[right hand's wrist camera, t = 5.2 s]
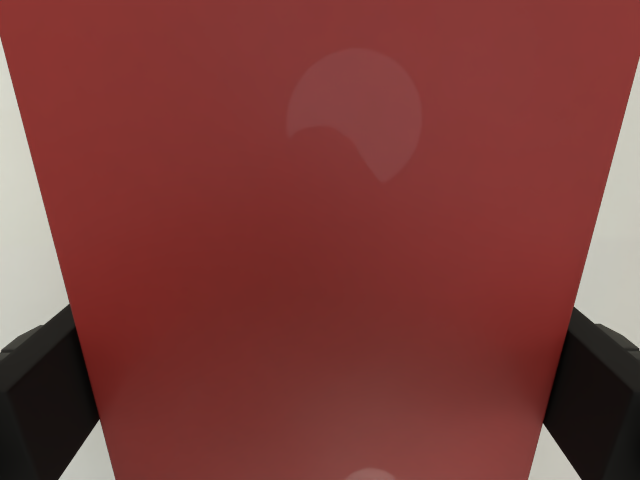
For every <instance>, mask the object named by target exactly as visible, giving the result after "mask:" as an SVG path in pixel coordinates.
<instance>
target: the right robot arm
mask: <svg viewBox="0 0 640 480" xmlns="http://www.w3.org/2000/svg"><path fill="white" fill-rule="evenodd" d="M99 419H100V418H99V414H98V410H97V406H96V403H95V399H94V395H93V391H92V387H91V383H90V380H89V376H88V372H87V368H86V364H85V360H84V356H83V353H82V349H81V345H80V341H79V337H78V333H77V330H76V326H75V322H74V318H73V314H72V310H71V306H70V304H69V305H68V306H66V307H65V308H64V309H63V310H62V311H60V312H59V313H58V314H57V315H56V316H54V317H53V318H52V319H51V320H50V321H48V322H47V323H46V324H45V325H40V326H38V327H36V328H34V329H32V330H30V331H28V332H26V333H24V334H22V335H20V336H18V337H17V338H16V339H14V340H13V341H12V342H11V343H9V344H8V345H7V346H6V347H4V348H3V349H2V350H1V353H0V480H58V479H59V478H60V476H61V475H62V473H63V472H64V471H65V469H66V468H67V466H68V465H69V463H70V462H71V460H72V459H73V457H74V456H75V454H76V453H77V451H78V450H79V449H80V447H81V446H82V444H83V443H84V441H85V440H86V438H87V437H88V435H89V434H90V432H91V431H92V429H93V428H94V427H95V425H96V424H97V422H98V421H99ZM543 424H544V425H545V427H546V428H547V430H548V431H549V432H550V434H551V435H552V437H553V438H554V440H555V441H556V443H557V444H558V446H559V447H560V449H561V450H562V452H563V453H564V454H565V456H566V457H567V459H568V460H569V462H570V463H571V465H572V466H573V468H574V469H575V471H576V472H577V474H578V475H579V476H580V478H581V479H582V480H640V351H639V348H638V347H637V346H635V345H634V344H633V343H632V342H630V341H629V340H628V339H626V338H625V337H624V336H623V335H621V334H619V333H617V332H615V331H613V330H611V329H609V328H607V327H605V326H603V325H601V324H594V323H593V322H592V321H590V320H589V319H588V318H587V317H586V316H584V315H583V314H582V313H581V312H580V311H578V310H577V309H576V308H575V307H573V311H572V314H571V318H570V322H569V326H568V330H567V333H566V337H565V341H564V345H563V348H562V352H561V356H560V360H559V364H558V367H557V371H556V375H555V379H554V383H553V386H552V390H551V394H550V398H549V401H548V405H547V409H546V413H545V417H544V420H543Z"/></svg>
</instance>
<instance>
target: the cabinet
mask: <svg viewBox="0 0 640 480" xmlns="http://www.w3.org/2000/svg"><path fill="white" fill-rule="evenodd" d="M0 37H1V41H2V45H3V49H4V53H5V57H6V60H7V64H8V68H9V72H10V76H11V80H12V83H13V87H14V91H15V95H16V99H17V103H18V107H19V110H20V114H21V118H22V122H23V126H24V130H25V133H26V137H27V141H28V145H29V149H30V153H31V157H32V160H33V164H34V168H35V172H36V176H37V180H38V183H39V187H40V191H41V195H42V199H43V203H44V207H45V210H46V214H47V218H48V222H49V226H50V230H51V233H52V237H53V241H54V245H55V249H56V253H57V257H58V260H59V264H60V268H61V272H62V276H63V280H64V283H65V287H66V291H67V295H68V299H69V303H70V306H71V310H72V314H73V318H74V322H75V326H76V330H77V333H78V337H79V341H80V345H81V349H82V353H83V356H84V360H85V364H86V368H87V372H88V376H89V380H90V383H91V387H92V391H93V395H94V399H95V403H96V406H97V410H98V414H99V418H100V422H101V426H102V430H103V433H104V437H105V441H106V445H107V449H108V453H109V456H110V460H111V464H112V468H113V472H114V476H115V480H528V477H529V473H530V470H531V466H532V462H533V458H534V454H535V451H536V447H537V443H538V439H539V435H540V432H541V428H542V424H543V420H544V417H545V413H546V409H547V405H548V401H549V398H550V394H551V390H552V386H553V383H554V379H555V375H556V371H557V367H558V364H559V360H560V356H561V352H562V348H563V345H564V341H565V337H566V333H567V330H568V326H569V322H570V318H571V314H572V311H573V307H574V303H575V299H576V296H577V292H578V288H579V284H580V280H581V277H582V273H583V269H584V265H585V261H586V258H587V254H588V250H589V246H590V243H591V239H592V235H593V231H594V227H595V224H596V220H597V216H598V212H599V208H600V205H601V201H602V197H603V193H604V190H605V186H606V182H607V178H608V174H609V171H610V167H611V163H612V159H613V156H614V152H615V148H616V144H617V140H618V137H619V133H620V129H621V125H622V121H623V118H624V114H625V110H626V106H627V103H628V99H629V95H630V91H631V87H632V84H633V80H634V76H635V72H636V69H637V65H638V61H639V57H640V0H0Z"/></svg>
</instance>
